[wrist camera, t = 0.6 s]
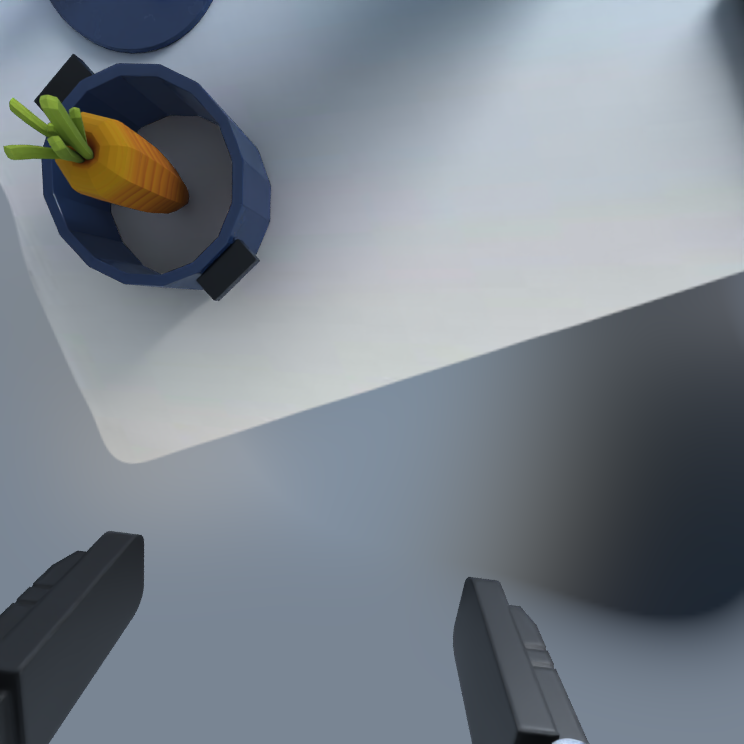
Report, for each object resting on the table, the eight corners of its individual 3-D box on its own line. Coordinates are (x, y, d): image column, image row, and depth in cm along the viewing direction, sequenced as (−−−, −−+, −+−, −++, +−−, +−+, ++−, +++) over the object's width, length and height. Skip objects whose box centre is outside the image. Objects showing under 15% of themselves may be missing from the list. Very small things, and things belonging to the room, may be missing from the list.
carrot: (163, 235, 36) (-7, 183, 21) (150, 174, 35) (-34, 77, 21) (218, 225, 36) (85, 166, 21) (207, 163, 35) (60, 56, 20)
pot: (51, 176, 36) (-19, 150, 30) (166, 44, 34) (115, -12, 28) (201, 341, 37) (162, 347, 31) (323, 224, 35) (306, 206, 29)
